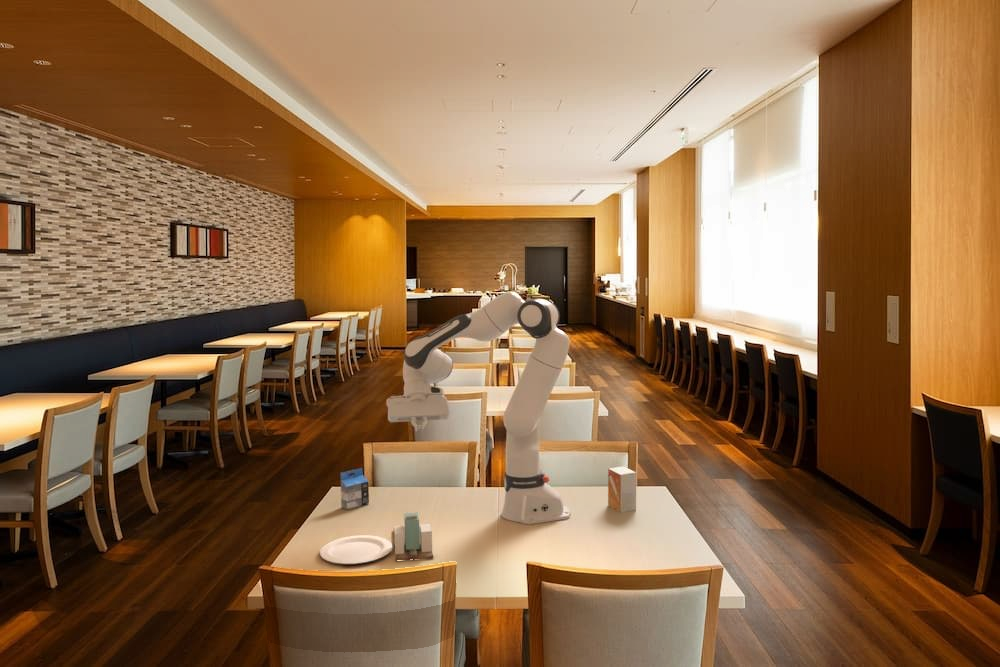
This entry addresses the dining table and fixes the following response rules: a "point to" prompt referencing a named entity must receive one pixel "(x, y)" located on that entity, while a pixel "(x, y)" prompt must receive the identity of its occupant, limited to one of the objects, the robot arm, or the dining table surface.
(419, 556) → the rail board
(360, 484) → the label tape cartridge
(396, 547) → the mounted modules
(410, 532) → the block
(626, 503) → the small box
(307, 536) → the dining table surface
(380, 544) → the plate
